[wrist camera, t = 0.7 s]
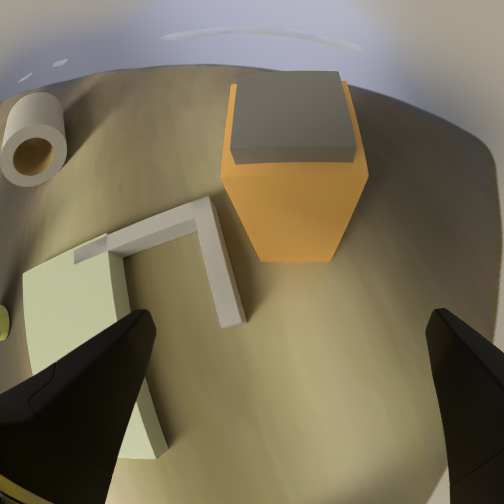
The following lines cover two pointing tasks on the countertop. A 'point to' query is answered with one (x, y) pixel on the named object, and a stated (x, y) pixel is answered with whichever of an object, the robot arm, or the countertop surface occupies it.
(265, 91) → the chute block
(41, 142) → the toilet paper
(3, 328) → the tube
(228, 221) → the countertop surface
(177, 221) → the plate with l-bracket
